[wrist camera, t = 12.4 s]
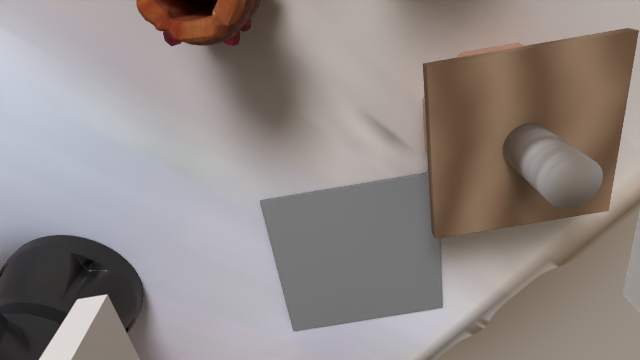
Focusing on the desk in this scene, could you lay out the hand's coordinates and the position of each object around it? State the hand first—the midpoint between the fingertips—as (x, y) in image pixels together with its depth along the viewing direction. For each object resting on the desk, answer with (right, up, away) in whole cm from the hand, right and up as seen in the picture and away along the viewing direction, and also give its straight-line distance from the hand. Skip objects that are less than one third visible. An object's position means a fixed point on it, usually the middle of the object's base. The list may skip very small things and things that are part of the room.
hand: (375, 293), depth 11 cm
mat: (+3, -6, +40) cm, 41 cm away
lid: (+16, +6, +27) cm, 32 cm away
